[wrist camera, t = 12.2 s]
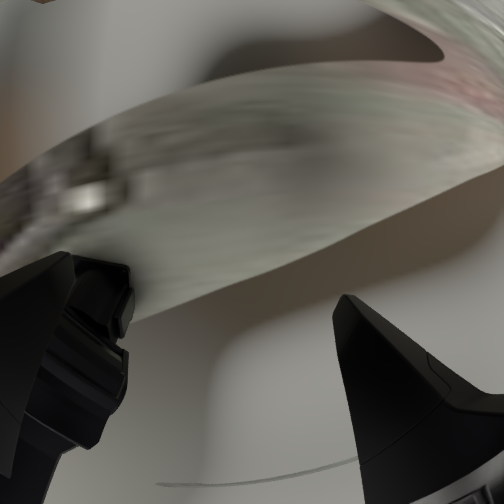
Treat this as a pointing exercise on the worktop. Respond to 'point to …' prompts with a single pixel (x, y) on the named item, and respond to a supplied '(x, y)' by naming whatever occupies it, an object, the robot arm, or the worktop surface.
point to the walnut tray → (42, 1)
